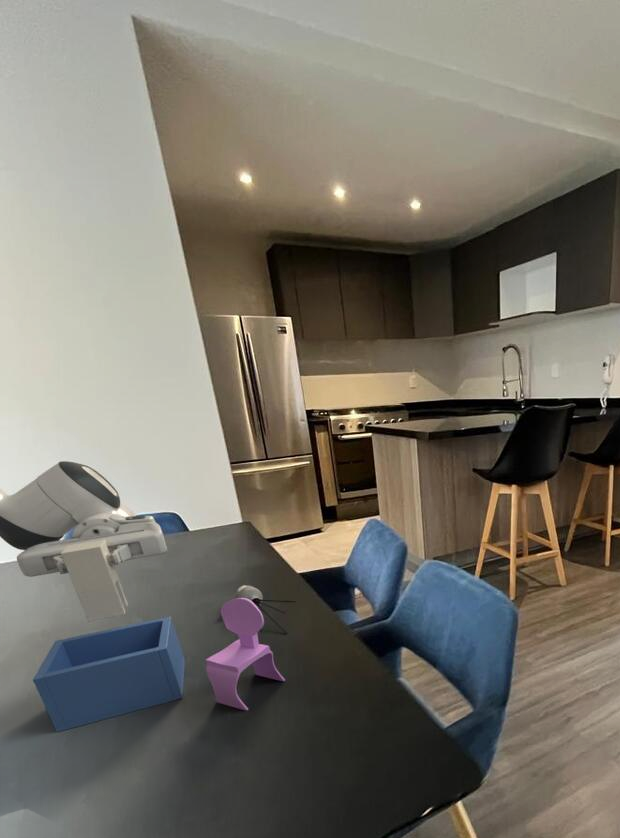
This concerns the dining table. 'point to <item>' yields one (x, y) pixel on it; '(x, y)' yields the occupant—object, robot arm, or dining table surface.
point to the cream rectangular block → (95, 580)
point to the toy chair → (240, 652)
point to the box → (111, 673)
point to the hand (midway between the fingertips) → (88, 564)
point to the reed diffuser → (256, 599)
